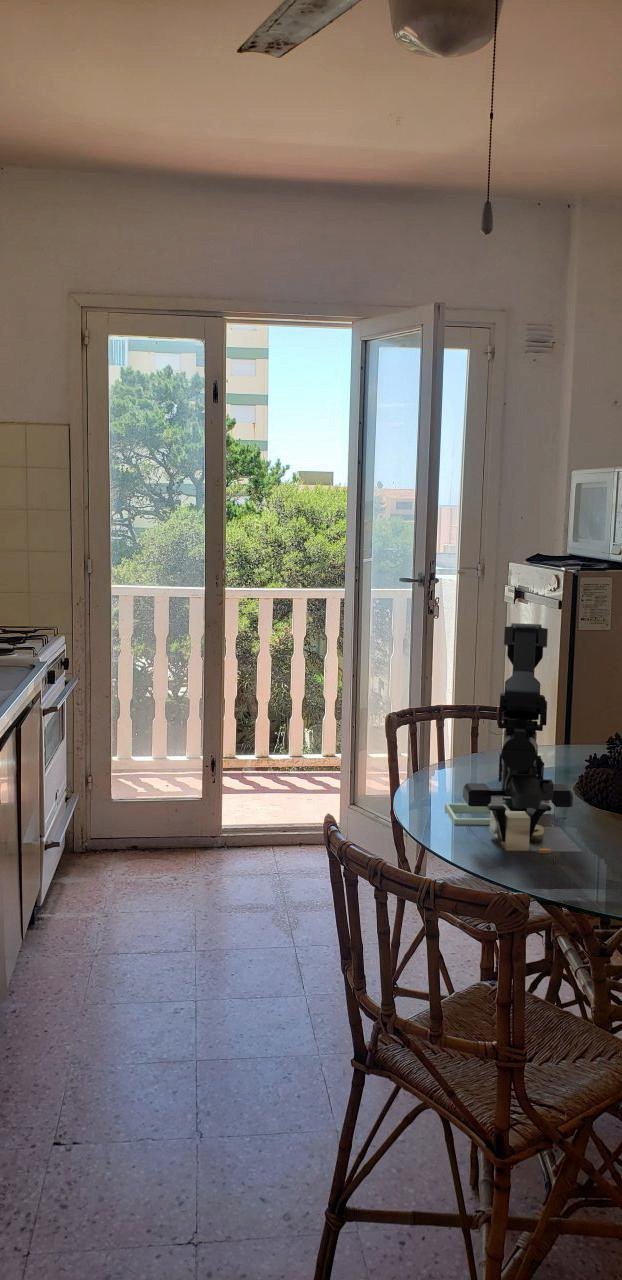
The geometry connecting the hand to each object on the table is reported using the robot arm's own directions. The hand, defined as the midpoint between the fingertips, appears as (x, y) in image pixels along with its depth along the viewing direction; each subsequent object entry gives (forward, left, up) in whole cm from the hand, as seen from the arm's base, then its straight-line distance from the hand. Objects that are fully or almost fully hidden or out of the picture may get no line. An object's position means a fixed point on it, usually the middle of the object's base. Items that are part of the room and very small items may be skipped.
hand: (515, 841), depth 178 cm
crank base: (-5, +5, -2) cm, 7 cm away
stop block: (0, 0, -1) cm, 1 cm away
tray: (-18, -2, -2) cm, 18 cm away
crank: (-5, +1, -1) cm, 5 cm away
